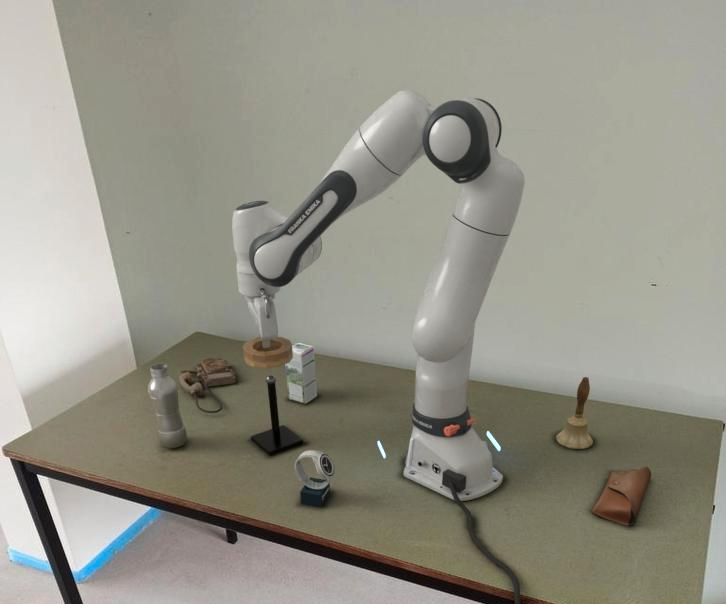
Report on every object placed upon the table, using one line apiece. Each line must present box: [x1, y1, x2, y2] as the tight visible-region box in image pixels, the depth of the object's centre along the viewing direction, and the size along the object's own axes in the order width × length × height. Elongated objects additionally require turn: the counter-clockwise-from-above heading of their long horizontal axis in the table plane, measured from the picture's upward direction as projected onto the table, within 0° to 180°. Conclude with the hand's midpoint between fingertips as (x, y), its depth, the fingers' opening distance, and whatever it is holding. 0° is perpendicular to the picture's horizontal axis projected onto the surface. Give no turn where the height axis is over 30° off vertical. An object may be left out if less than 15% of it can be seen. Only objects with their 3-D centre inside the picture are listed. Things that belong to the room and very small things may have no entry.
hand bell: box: [555, 376, 594, 450], centre depth 153 cm, size 8×8×16 cm
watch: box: [293, 449, 335, 509], centre depth 136 cm, size 6×8×11 cm
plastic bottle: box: [147, 362, 188, 449], centre depth 153 cm, size 6×7×20 cm
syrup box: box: [285, 341, 318, 405], centre depth 174 cm, size 6×6×14 cm
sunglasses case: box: [591, 466, 652, 527], centre depth 136 cm, size 18×7×7 cm
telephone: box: [178, 357, 237, 414], centre depth 182 cm, size 15×33×4 cm, turn 23°
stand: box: [250, 374, 304, 457], centre depth 154 cm, size 9×9×17 cm
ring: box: [242, 336, 293, 369], centre depth 146 cm, size 11×11×3 cm
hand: (264, 343), depth 150 cm, fingers closed on ring, 2 cm apart
